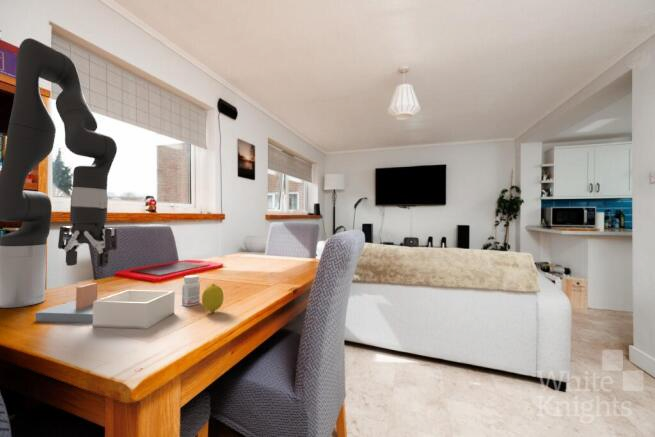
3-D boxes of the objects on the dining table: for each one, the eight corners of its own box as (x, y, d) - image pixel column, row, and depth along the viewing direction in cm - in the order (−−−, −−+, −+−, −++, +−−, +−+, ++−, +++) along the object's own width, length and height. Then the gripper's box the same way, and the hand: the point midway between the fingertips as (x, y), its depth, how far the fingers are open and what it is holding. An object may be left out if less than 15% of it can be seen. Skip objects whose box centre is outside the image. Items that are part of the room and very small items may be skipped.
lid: (35, 321, 68) (36, 290, 68) (81, 305, 81) (82, 279, 81) (92, 322, 68) (93, 291, 68) (130, 307, 80) (130, 280, 80)
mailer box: (92, 326, 65) (93, 301, 65) (128, 311, 76) (128, 289, 76) (145, 328, 65) (146, 303, 65) (174, 313, 76) (174, 291, 76)
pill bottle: (202, 302, 86) (203, 275, 86) (193, 306, 82) (194, 278, 82) (188, 301, 87) (188, 274, 87) (178, 305, 82) (179, 277, 82)
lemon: (214, 308, 81) (215, 280, 81) (227, 311, 78) (228, 283, 78) (197, 313, 76) (197, 284, 76) (210, 317, 73) (210, 287, 73)
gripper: (49, 203, 71) (46, 267, 71) (102, 206, 70) (100, 270, 70) (77, 205, 78) (75, 262, 78) (125, 207, 78) (123, 265, 78)
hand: (86, 266), depth 74 cm, fingers open, 8 cm apart
